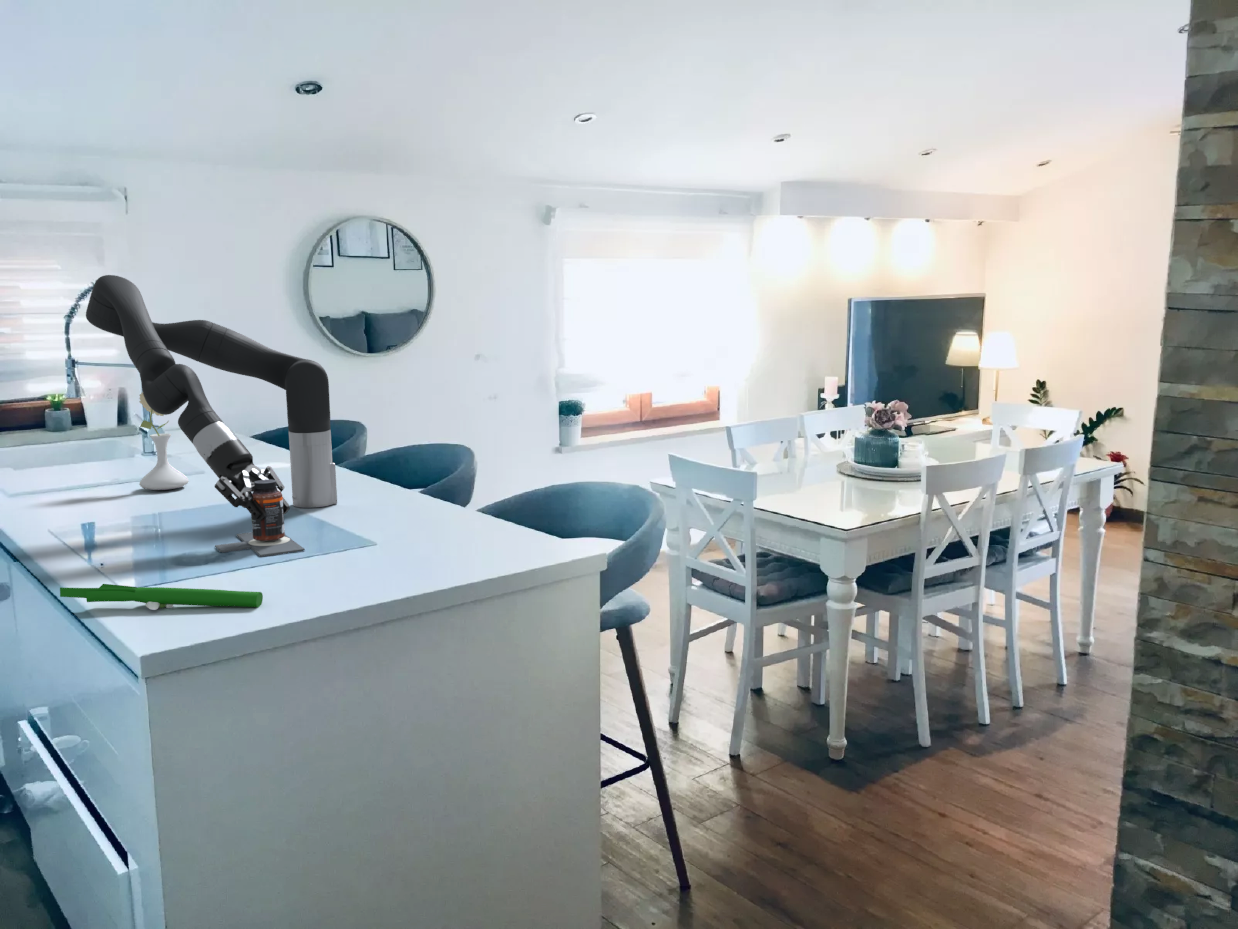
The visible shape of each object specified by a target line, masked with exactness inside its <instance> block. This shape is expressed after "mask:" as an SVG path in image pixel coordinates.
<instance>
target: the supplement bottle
mask: <svg viewBox="0 0 1238 929" xmlns="http://www.w3.org/2000/svg"><path fill="white" fill-rule="evenodd" d="M254 485H255V487H254V488H255V490H254V492H252V496H253V500H256V501H257V502H258V503H259V505H260V506H261V507H262V508H263V510H264V511H265V512H266V517H265V518H264V519H263V520H262V521H257V520H256V519H255V518H254V517H253V516H252V515H251V514H250V517H251V530H252V531H251V532H252V533H253V538H254V539H255V540H257V541H272V540H277V539H281V538H283V537H284V536H285V535H286V533H285V531H286V530H285V516H284V515H285V514H284V513H283V498H284V497H283V493H282V492H280V491H278V490H277V488H276V487H277V485H276V480H259V481H255V482H254Z"/></svg>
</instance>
